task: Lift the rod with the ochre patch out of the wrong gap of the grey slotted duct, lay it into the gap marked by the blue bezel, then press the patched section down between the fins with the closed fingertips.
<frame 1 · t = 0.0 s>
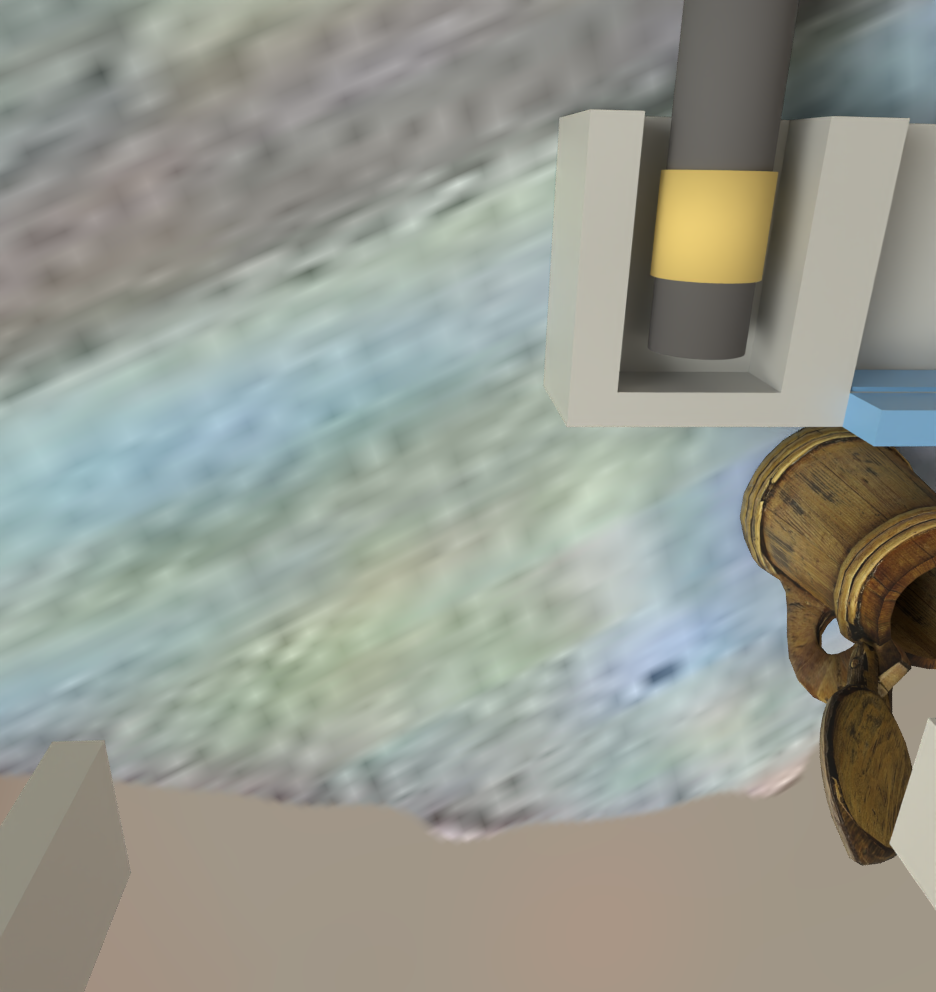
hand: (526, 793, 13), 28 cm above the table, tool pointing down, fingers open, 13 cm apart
rod: (705, 117, 32), point 3 cm above the table, touching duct
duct: (795, 172, 36), on the table
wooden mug: (785, 527, 43), on the table
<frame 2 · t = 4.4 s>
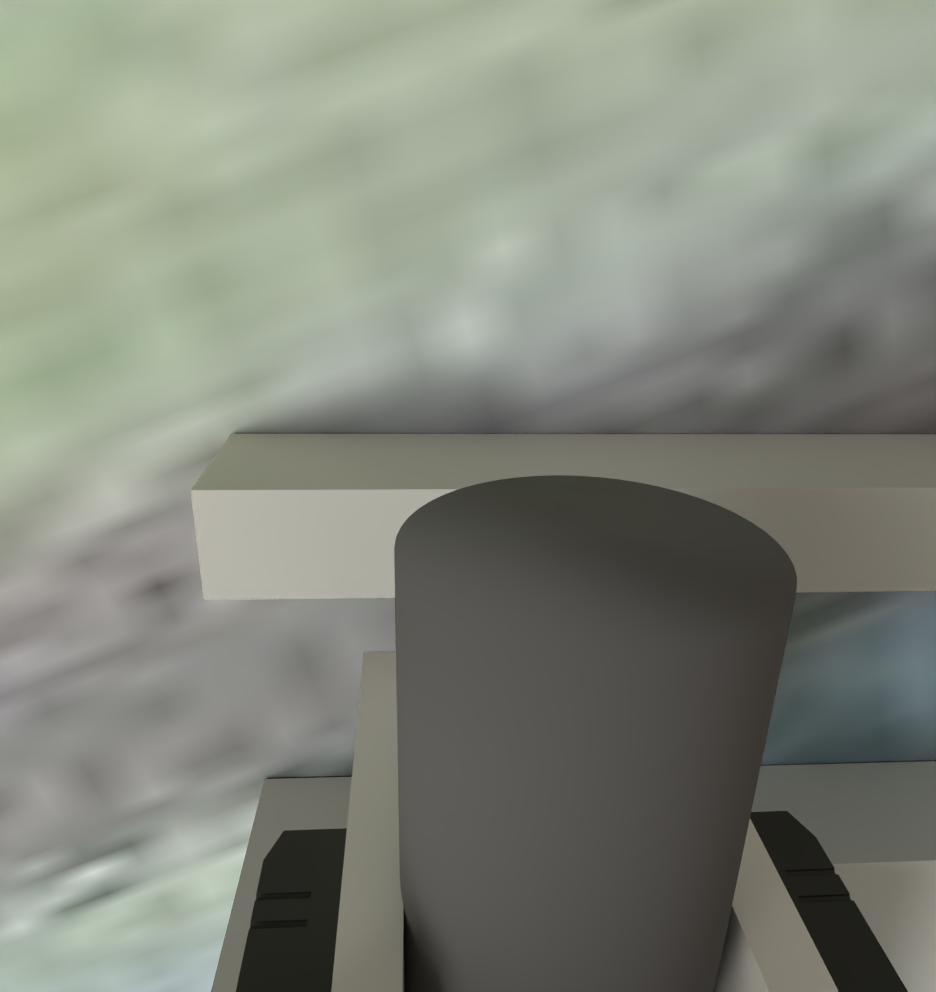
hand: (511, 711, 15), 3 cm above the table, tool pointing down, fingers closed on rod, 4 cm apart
rod: (520, 959, 14), point 5 cm above the table, touching gripper
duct: (710, 829, 20), on the table
when the fingers open (1 cm above the table, at t = 9.1 s): rod stays where it is, resting on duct.
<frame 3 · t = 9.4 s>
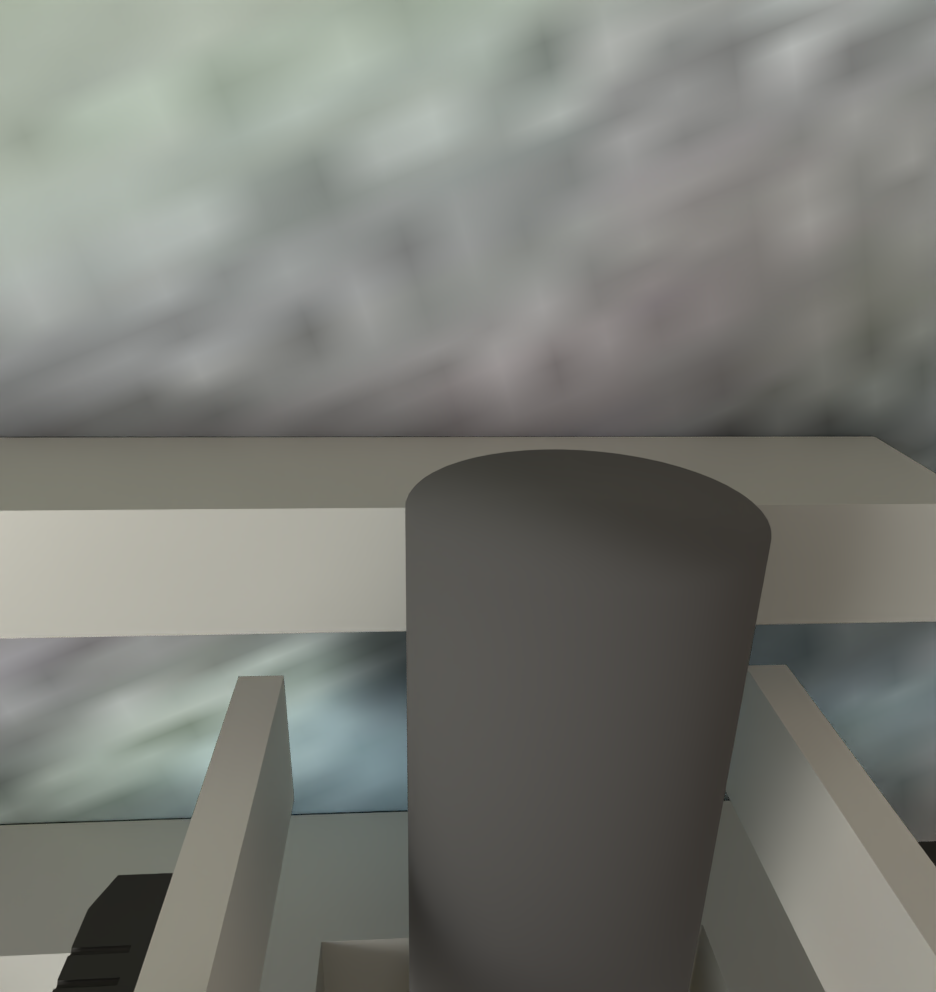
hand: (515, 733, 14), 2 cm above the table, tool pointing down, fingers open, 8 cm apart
rod: (513, 918, 14), point 3 cm above the table, touching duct
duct: (294, 883, 18), on the table
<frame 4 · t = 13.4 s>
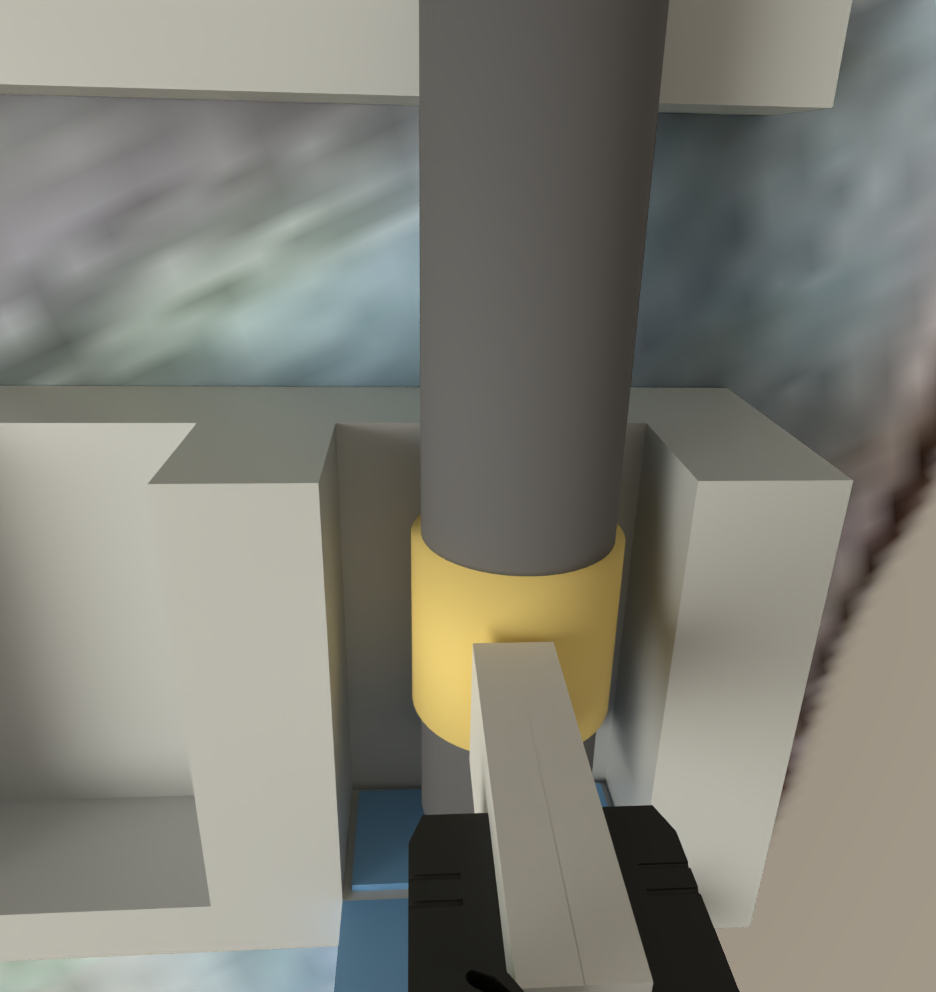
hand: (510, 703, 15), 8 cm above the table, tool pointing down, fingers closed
rod: (491, 408, 18), point 3 cm above the table, tilted 10°, touching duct, gripper
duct: (310, 460, 21), on the table
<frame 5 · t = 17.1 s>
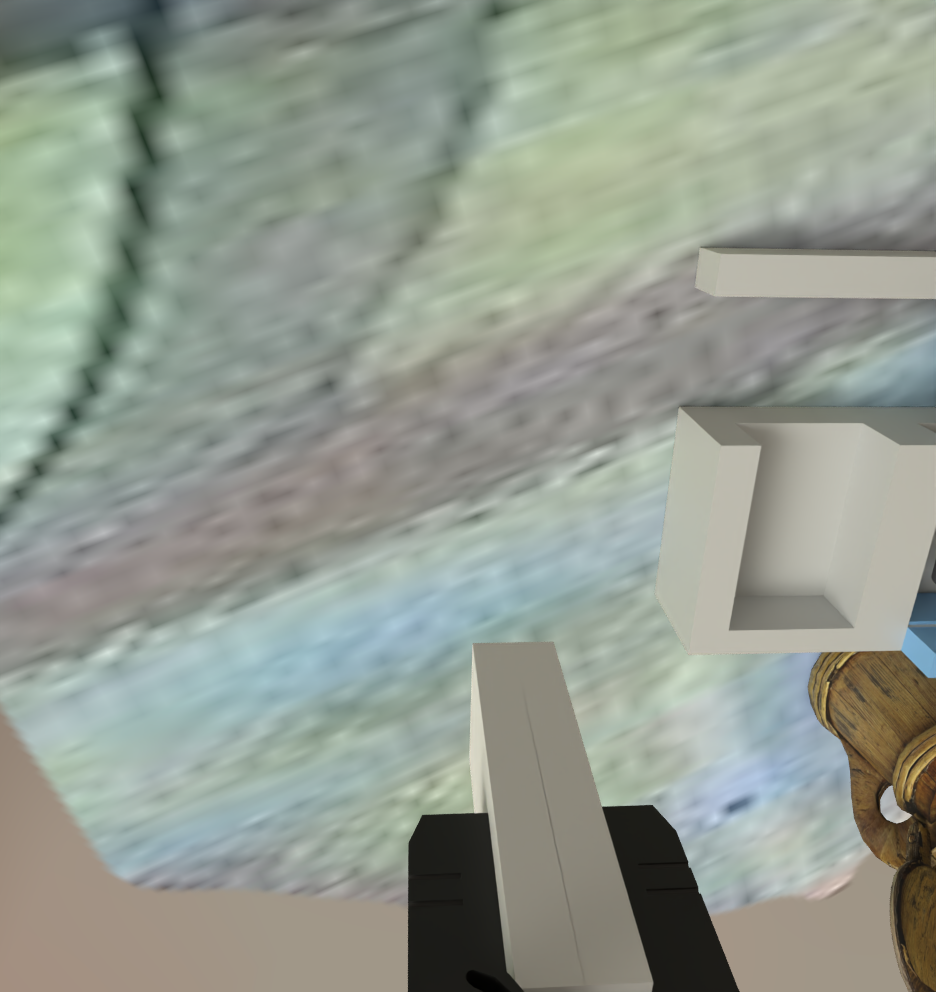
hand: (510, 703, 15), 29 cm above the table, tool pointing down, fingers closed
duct: (861, 440, 45), on the table
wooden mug: (844, 692, 53), on the table
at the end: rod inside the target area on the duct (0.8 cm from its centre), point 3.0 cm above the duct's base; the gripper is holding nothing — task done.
